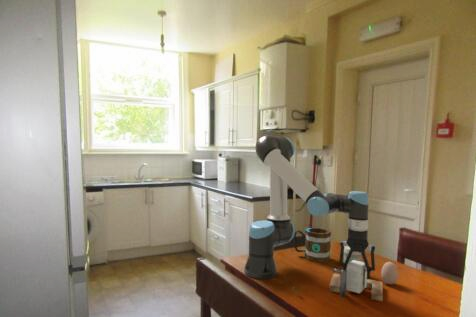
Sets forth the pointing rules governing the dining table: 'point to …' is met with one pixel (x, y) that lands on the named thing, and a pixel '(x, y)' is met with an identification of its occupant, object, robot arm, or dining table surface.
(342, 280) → the hook post
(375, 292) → the tan arch frame
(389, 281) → the egg
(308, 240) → the mug
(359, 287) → the small box
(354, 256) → the coffee cup
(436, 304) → the dining table surface
